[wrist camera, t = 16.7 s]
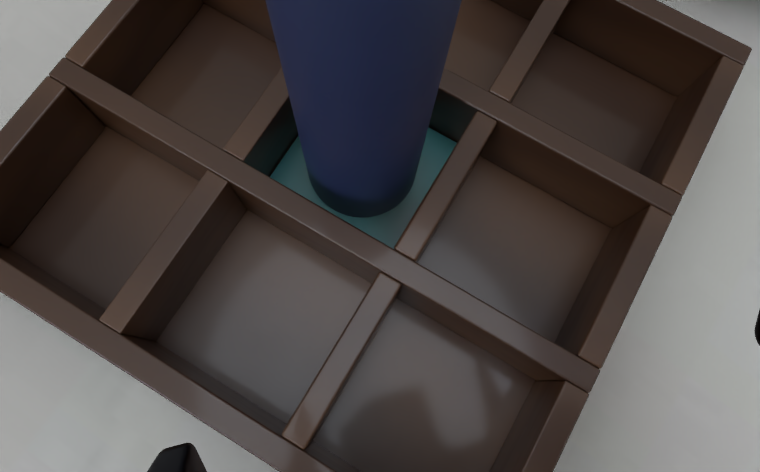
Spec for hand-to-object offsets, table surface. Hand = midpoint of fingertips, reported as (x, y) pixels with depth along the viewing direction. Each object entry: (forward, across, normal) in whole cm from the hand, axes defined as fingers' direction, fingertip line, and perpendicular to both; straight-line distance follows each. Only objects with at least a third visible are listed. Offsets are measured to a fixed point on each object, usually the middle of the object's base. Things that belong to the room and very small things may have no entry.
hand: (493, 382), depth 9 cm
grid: (+14, 0, +2) cm, 14 cm away
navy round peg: (+13, 0, +2) cm, 14 cm away
